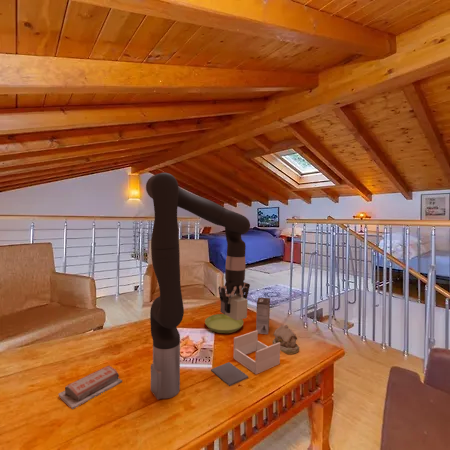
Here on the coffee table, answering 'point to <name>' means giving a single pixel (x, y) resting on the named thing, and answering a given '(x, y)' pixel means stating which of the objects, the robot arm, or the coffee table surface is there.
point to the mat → (229, 374)
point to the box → (236, 308)
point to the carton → (264, 354)
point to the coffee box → (263, 315)
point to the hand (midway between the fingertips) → (233, 311)
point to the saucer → (223, 323)
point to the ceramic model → (286, 340)
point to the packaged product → (90, 386)
